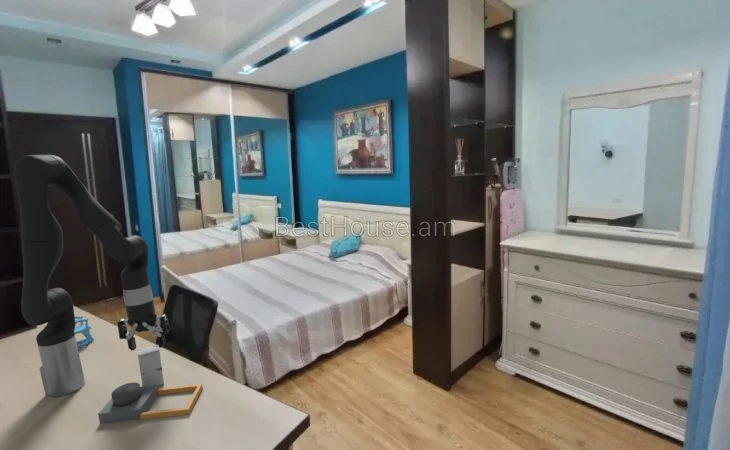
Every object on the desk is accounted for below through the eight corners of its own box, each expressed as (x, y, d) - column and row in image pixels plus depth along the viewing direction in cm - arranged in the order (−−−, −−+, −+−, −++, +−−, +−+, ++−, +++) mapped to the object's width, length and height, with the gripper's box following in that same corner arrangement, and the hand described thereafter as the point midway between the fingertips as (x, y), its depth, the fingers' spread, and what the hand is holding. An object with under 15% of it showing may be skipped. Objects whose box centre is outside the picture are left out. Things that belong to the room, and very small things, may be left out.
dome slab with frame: (98, 424, 101) (94, 405, 100) (122, 397, 113) (118, 379, 112) (189, 413, 104) (186, 395, 102) (202, 388, 115) (200, 370, 114)
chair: (97, 342, 150) (92, 314, 148) (72, 351, 143) (67, 322, 141) (88, 338, 154) (83, 311, 152) (64, 346, 147) (59, 318, 145)
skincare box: (143, 391, 115) (136, 356, 113) (142, 384, 119) (136, 350, 117) (165, 383, 119) (159, 349, 116) (163, 377, 122) (158, 344, 120)
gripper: (107, 307, 109) (117, 356, 112) (157, 302, 110) (166, 351, 113) (121, 297, 116) (130, 344, 119) (167, 293, 118) (175, 339, 121)
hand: (147, 347), depth 116 cm, fingers open, 8 cm apart
